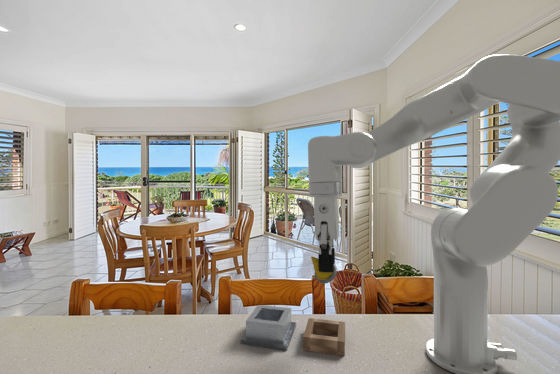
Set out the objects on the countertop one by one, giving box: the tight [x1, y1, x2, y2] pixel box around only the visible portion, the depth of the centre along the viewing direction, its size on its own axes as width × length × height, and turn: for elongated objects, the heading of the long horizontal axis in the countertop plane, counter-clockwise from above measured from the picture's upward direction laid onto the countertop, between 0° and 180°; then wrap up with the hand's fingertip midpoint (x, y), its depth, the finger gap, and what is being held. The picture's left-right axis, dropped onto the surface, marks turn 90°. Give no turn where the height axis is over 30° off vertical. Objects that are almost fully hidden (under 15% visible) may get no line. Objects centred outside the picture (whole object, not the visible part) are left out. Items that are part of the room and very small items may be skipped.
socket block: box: [302, 317, 346, 357], centre depth 66 cm, size 9×9×3 cm
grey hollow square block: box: [239, 304, 297, 351], centre depth 69 cm, size 11×11×5 cm
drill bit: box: [310, 256, 338, 285], centre depth 65 cm, size 5×5×10 cm
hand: (327, 267), depth 66 cm, fingers closed on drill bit, 5 cm apart
